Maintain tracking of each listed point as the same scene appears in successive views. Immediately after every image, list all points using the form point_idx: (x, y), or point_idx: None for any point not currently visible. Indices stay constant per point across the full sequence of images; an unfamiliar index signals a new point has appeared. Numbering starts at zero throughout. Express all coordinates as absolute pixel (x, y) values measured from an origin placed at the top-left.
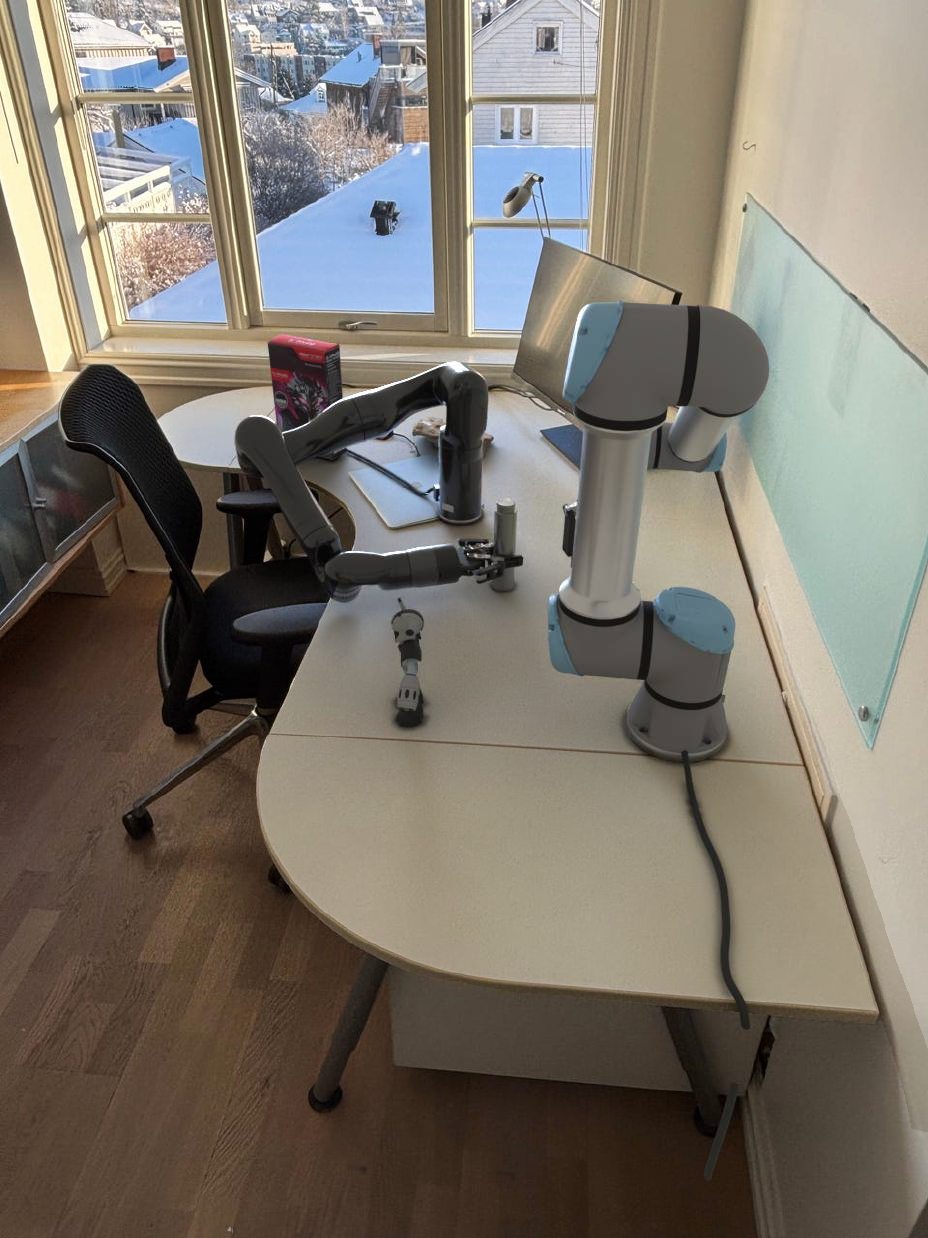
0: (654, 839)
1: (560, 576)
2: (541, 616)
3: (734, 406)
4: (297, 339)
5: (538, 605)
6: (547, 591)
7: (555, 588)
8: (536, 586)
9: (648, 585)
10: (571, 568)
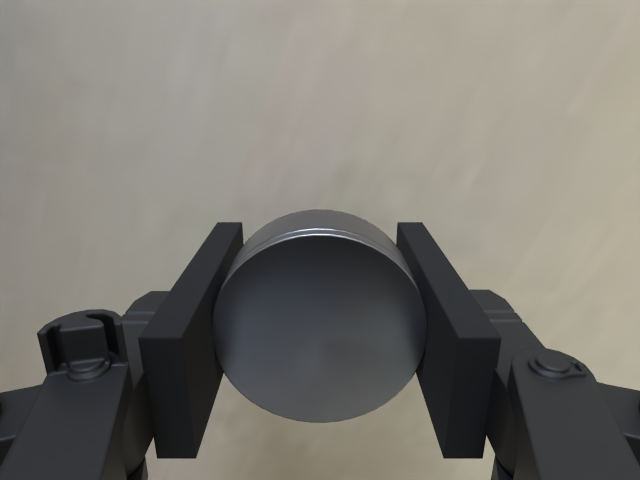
0: None
1: (197, 52)
2: (10, 387)
3: None
4: None
5: (8, 305)
6: (79, 195)
7: (131, 177)
8: (22, 127)
9: (633, 280)
10: (149, 295)
